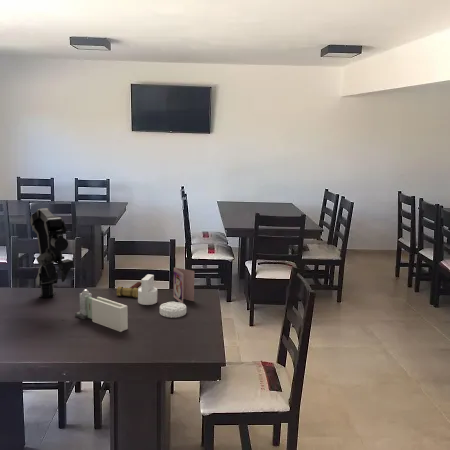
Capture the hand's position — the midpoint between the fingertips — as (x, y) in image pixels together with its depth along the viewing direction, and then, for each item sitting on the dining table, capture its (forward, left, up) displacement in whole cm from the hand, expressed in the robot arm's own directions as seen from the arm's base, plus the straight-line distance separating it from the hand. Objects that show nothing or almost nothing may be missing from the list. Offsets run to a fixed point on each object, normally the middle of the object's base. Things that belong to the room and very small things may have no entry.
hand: (56, 279), depth 225 cm
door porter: (+11, +14, -13) cm, 22 cm away
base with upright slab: (-7, +40, -13) cm, 43 cm away
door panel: (+16, +20, -13) cm, 29 cm away
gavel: (-23, +32, -14) cm, 42 cm away
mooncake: (+7, +52, -14) cm, 54 cm away
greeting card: (-9, +57, -13) cm, 59 cm away
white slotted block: (+21, +26, -13) cm, 36 cm away
